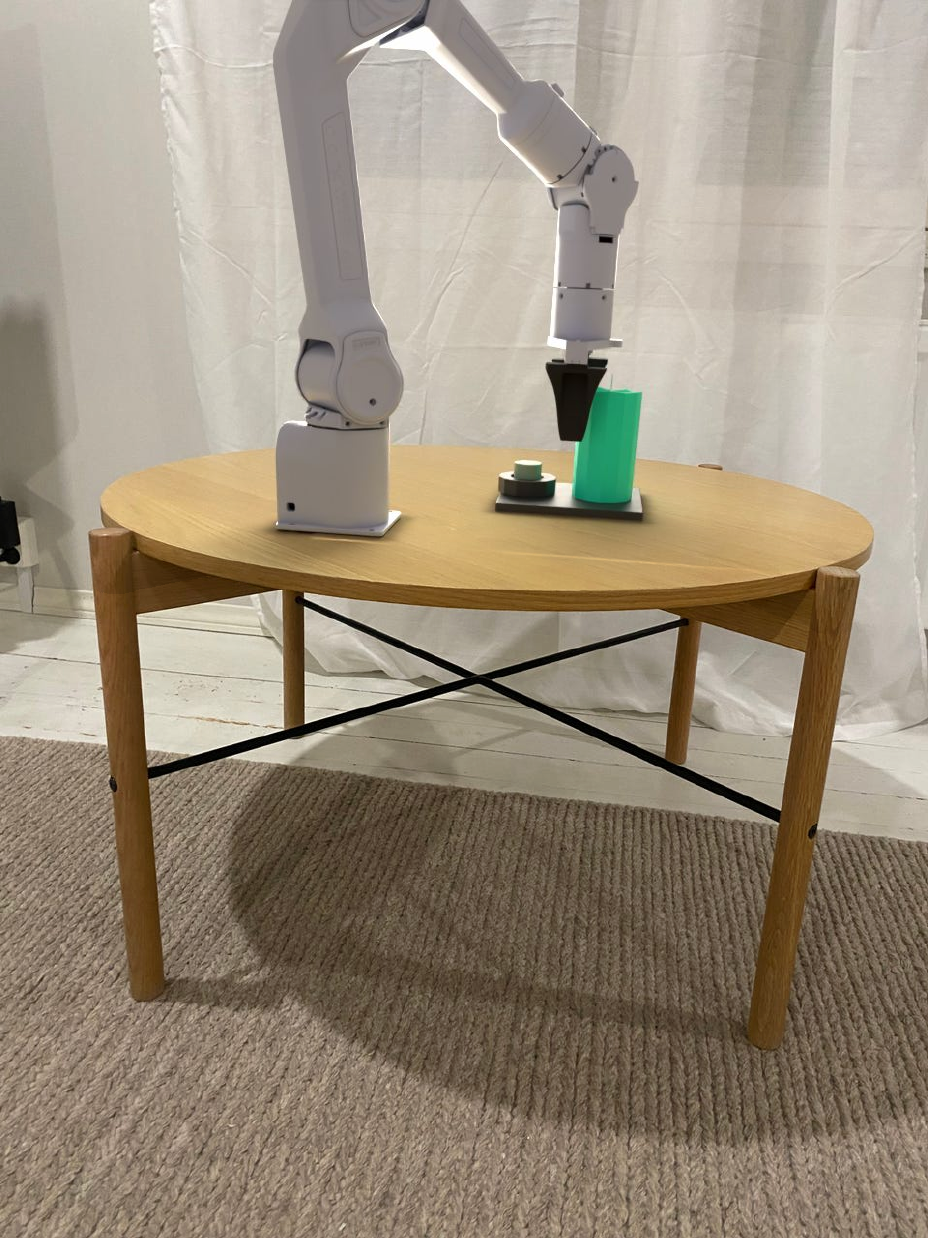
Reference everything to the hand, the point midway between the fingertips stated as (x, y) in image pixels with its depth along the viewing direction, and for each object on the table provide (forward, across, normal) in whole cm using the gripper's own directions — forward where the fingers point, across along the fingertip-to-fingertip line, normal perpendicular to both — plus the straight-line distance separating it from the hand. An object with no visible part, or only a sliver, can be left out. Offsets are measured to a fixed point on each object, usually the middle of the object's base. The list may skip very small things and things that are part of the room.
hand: (572, 435), depth 91 cm
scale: (+7, 0, 0) cm, 7 cm away
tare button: (+5, 0, +4) cm, 6 cm away
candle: (+6, 0, -3) cm, 7 cm away
